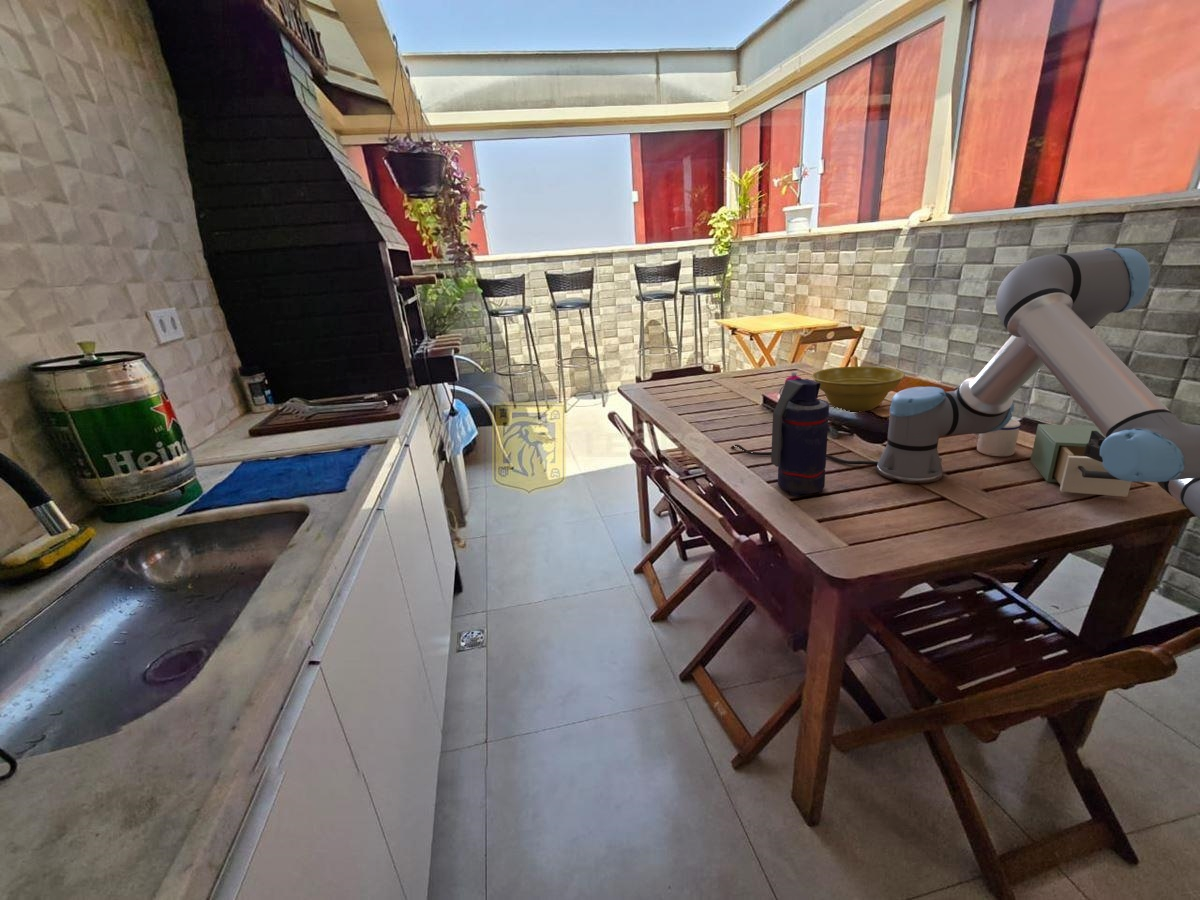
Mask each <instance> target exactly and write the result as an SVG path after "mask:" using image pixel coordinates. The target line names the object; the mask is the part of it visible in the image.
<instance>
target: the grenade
mask: <svg viewBox="0 0 1200 900" xmlns="http://www.w3.org/2000/svg"><path fill="white" fill-rule="evenodd" d="M820 385H821V383H818V382H815V380H812V379H808V378H801V379H794V380H787V381H786V383H785V382H784V385H782V386H781V387H780V389H779V392H778V393H779V398H778V401H777V403H776V405H775V407H774V410H773V411H772V428H771V429H772V430H771V451H770V452H771V455H770V463H771V464H773V465H774V466H775V467H776V468H777V485H778V487H780V488H781V489H783V490H785V491H787V492H789V494H790V495H791V496H793V497H801V495H810V494H815V493H818V494H819V493H822V491H823V490H824V488H825V486H826V485H825V484H826V467H827V458H826V454H828V453H827V450H828V435H829V434H828V433H829V432H828V431H829V416H830V415H829V413H830V402H829V401H826V400H824V399H821V398H819V397H818V396H819V392H820V390H821V389H820Z"/></svg>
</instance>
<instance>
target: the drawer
mask: <svg viewBox="0 0 1200 900" xmlns="http://www.w3.org/2000/svg"><path fill="white" fill-rule="evenodd" d="M1085 448H1086V447H1081V446H1059V450H1058V454H1057V459H1056V463H1055V467H1054V472H1053V476H1054V478H1055V479H1056V480H1057V481H1058V482H1059V483H1058V484H1059V485H1060V486H1059V491H1060V492H1061V493H1072V494H1084V495H1085V494H1086V495H1100V496H1113V497H1122V498H1123V497H1124V498H1126V497H1128V496H1129V493H1130V489H1131V485H1132V482H1131V481H1124V480H1121V479H1118V478H1116V477H1114V476H1112V475H1111V474H1110V473H1109V472H1107V470H1106V469H1105V468H1104V467H1103V465H1102V462H1100V461H1097V460H1094V459H1092V458H1089V457H1087V456H1084V452H1085Z"/></svg>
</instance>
